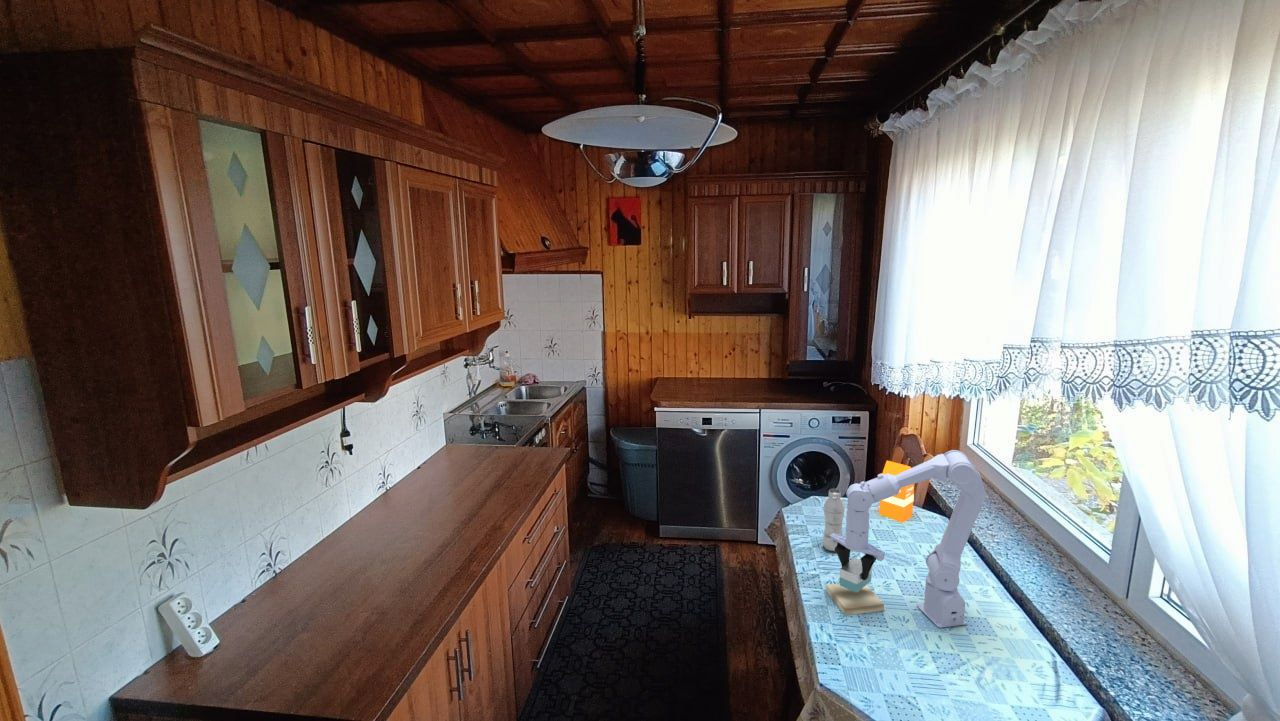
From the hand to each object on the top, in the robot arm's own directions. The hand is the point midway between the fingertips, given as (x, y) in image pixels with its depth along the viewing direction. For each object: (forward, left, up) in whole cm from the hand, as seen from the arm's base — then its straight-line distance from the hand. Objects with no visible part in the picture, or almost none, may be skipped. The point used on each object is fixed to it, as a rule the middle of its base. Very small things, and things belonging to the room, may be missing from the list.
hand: (855, 574), depth 152 cm
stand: (0, 0, -8) cm, 8 cm away
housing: (0, 0, -3) cm, 3 cm away
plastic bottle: (+27, -7, -8) cm, 29 cm away
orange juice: (+45, -40, -8) cm, 61 cm away
